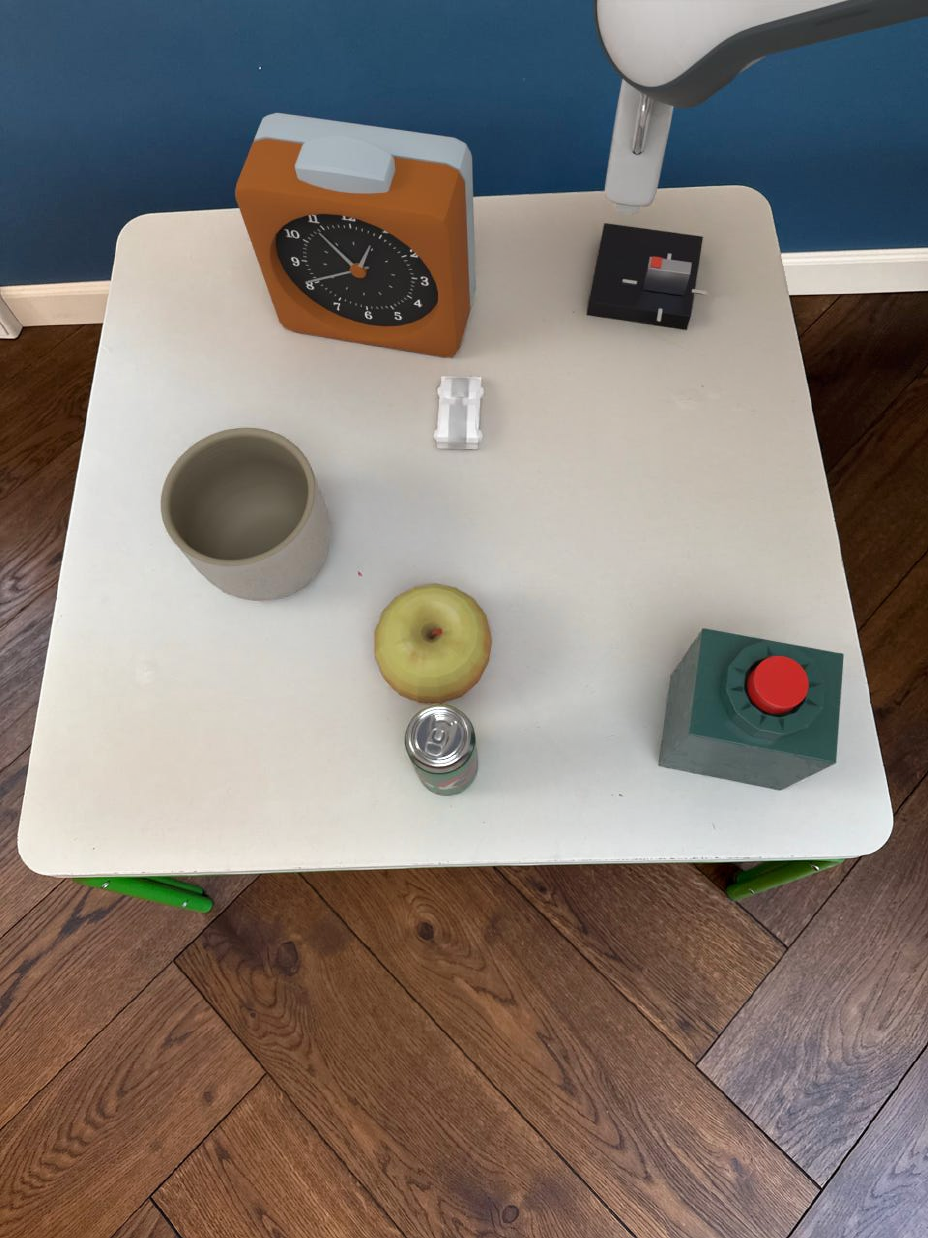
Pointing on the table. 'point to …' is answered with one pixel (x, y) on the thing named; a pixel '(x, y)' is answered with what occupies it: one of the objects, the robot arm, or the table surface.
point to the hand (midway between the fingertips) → (635, 161)
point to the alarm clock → (362, 231)
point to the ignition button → (777, 684)
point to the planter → (247, 513)
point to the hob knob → (667, 276)
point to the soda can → (442, 749)
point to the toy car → (459, 413)
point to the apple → (432, 643)
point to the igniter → (749, 714)
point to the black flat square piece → (642, 276)
